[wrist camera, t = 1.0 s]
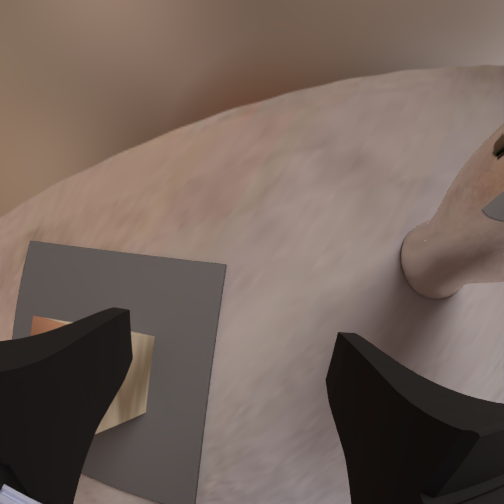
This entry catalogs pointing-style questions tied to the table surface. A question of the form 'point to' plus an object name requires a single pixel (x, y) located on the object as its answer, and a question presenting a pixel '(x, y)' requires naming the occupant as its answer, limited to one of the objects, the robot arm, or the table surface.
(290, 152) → the table surface
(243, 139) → the table surface
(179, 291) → the rubber mat
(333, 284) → the table surface
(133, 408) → the birch block
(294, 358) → the table surface
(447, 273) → the beer glass
